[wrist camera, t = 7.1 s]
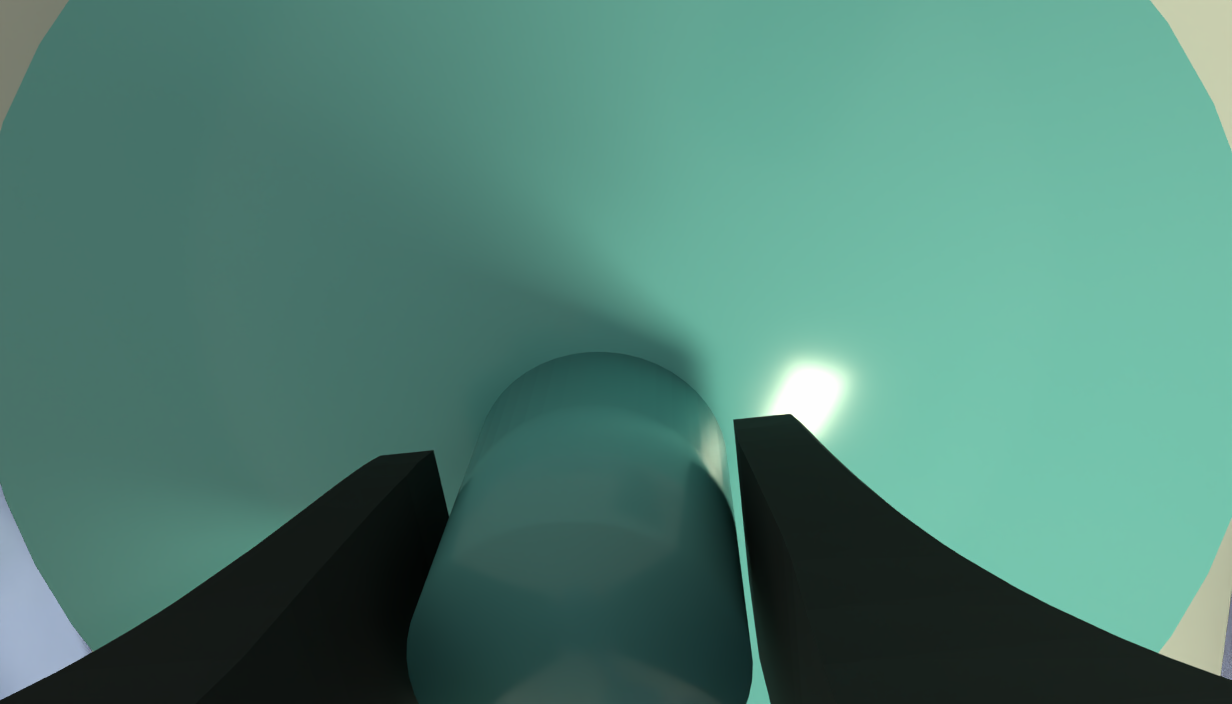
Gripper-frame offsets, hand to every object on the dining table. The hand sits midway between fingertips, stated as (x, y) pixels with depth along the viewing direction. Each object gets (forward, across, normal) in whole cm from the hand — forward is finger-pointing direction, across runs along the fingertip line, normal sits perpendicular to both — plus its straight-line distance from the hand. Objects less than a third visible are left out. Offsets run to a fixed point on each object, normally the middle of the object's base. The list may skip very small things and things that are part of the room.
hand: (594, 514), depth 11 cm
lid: (+2, 0, 0) cm, 2 cm away
